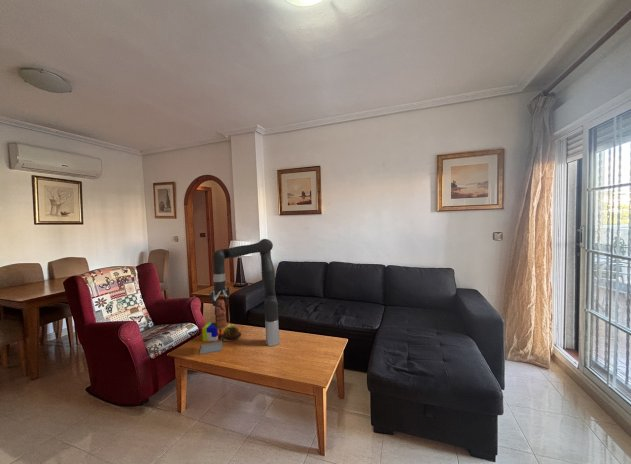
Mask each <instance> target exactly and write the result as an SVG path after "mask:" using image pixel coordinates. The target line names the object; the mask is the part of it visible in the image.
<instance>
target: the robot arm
mask: <svg viewBox="0 0 631 464" xmlns="http://www.w3.org/2000/svg"><path fill="white" fill-rule="evenodd" d="M273 247H274V244H273V242H272V241H271V240H270V239H268V238H262V239H260V240H259V241H258V242H256V243H251V244H244V245H237V246H233V247H229V248H222V249H217V250H215V251H214V252H213V254H212V260H213V262H212V263H213V290H209V301H212V306H213V307H215V306H216V302H217V299H218V298H219V297H220V296H223V300H224V302H225V304H226V303H227V302H228V297H230V295H231V294H230V293H231V292H230V291H231V290H230V287H229V286H226V285H227V284H226V270H225V269H226V267H225V266H226V265H225V259H234V258H238V257H242V256H247V255H251V254H256V253H257V254H258V253H259V255H260V271H261V273H260V274H261V281H262V285H263V289H264V321H265V322H264V324H265V325H264V327H265V345H266V346H268V347H274V346H278V345H279V344H280V343H281V342H280V330H279V303H278V300H277V295H276V288H275V286H276V273H275V266H274V262H273V260H272V255H271V254H272V252H271V250H273Z"/></svg>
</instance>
